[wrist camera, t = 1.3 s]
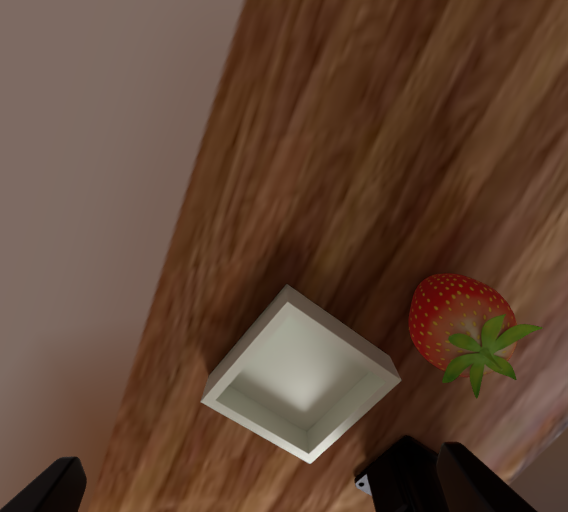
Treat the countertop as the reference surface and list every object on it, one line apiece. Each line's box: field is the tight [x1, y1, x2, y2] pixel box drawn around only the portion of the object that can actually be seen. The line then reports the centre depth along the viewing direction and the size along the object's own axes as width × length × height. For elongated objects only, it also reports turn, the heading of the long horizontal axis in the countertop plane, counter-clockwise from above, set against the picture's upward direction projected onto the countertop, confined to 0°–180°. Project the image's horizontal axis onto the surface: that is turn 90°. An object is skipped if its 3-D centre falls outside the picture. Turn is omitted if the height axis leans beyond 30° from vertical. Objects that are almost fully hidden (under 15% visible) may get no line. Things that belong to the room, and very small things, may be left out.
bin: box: [201, 284, 402, 464], centre depth 23 cm, size 9×9×2 cm
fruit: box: [408, 273, 542, 399], centre depth 18 cm, size 5×5×8 cm
